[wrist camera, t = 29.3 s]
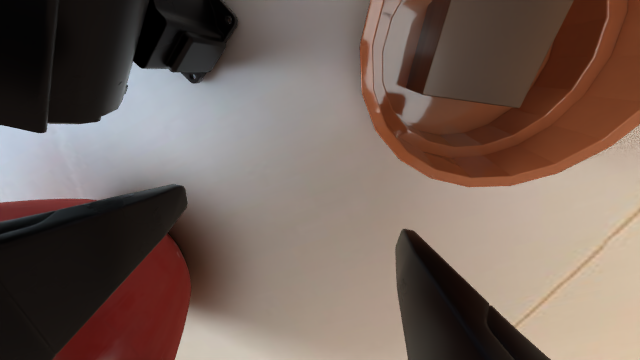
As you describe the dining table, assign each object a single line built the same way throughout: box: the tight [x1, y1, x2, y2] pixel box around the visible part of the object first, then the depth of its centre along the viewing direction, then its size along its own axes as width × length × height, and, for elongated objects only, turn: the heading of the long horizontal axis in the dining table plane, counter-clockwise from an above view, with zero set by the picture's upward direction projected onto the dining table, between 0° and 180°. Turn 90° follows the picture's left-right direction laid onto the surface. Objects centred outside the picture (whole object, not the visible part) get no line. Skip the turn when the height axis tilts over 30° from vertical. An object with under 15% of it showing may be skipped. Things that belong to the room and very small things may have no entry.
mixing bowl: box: [0, 199, 191, 360], centre depth 24 cm, size 28×28×16 cm
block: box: [406, 0, 574, 108], centre depth 13 cm, size 5×5×5 cm
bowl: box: [360, 0, 640, 187], centre depth 13 cm, size 13×13×7 cm
